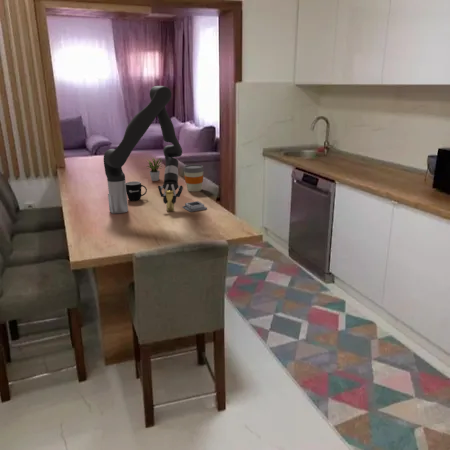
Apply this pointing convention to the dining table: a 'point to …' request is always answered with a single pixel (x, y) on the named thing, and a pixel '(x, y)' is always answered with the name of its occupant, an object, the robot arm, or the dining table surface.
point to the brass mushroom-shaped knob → (169, 200)
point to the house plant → (154, 169)
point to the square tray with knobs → (194, 206)
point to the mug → (134, 190)
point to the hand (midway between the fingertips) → (169, 202)
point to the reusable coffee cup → (194, 177)
